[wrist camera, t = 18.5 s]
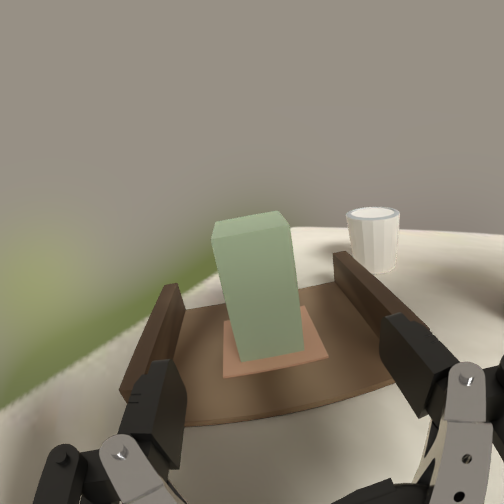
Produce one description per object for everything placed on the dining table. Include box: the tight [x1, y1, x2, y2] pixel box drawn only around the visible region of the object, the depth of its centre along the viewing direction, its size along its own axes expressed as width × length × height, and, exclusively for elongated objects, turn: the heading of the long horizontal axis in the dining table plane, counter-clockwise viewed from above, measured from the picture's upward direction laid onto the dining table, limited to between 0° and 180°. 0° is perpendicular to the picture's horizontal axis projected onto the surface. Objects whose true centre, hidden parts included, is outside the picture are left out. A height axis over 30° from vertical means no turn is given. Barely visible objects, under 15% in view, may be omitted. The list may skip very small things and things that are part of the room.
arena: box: [119, 251, 430, 427], centre depth 23 cm, size 20×16×4 cm
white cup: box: [346, 207, 400, 274], centre depth 33 cm, size 7×7×7 cm
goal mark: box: [223, 306, 329, 378], centre depth 24 cm, size 8×8×1 cm
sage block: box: [211, 211, 304, 362], centre depth 22 cm, size 5×5×10 cm
